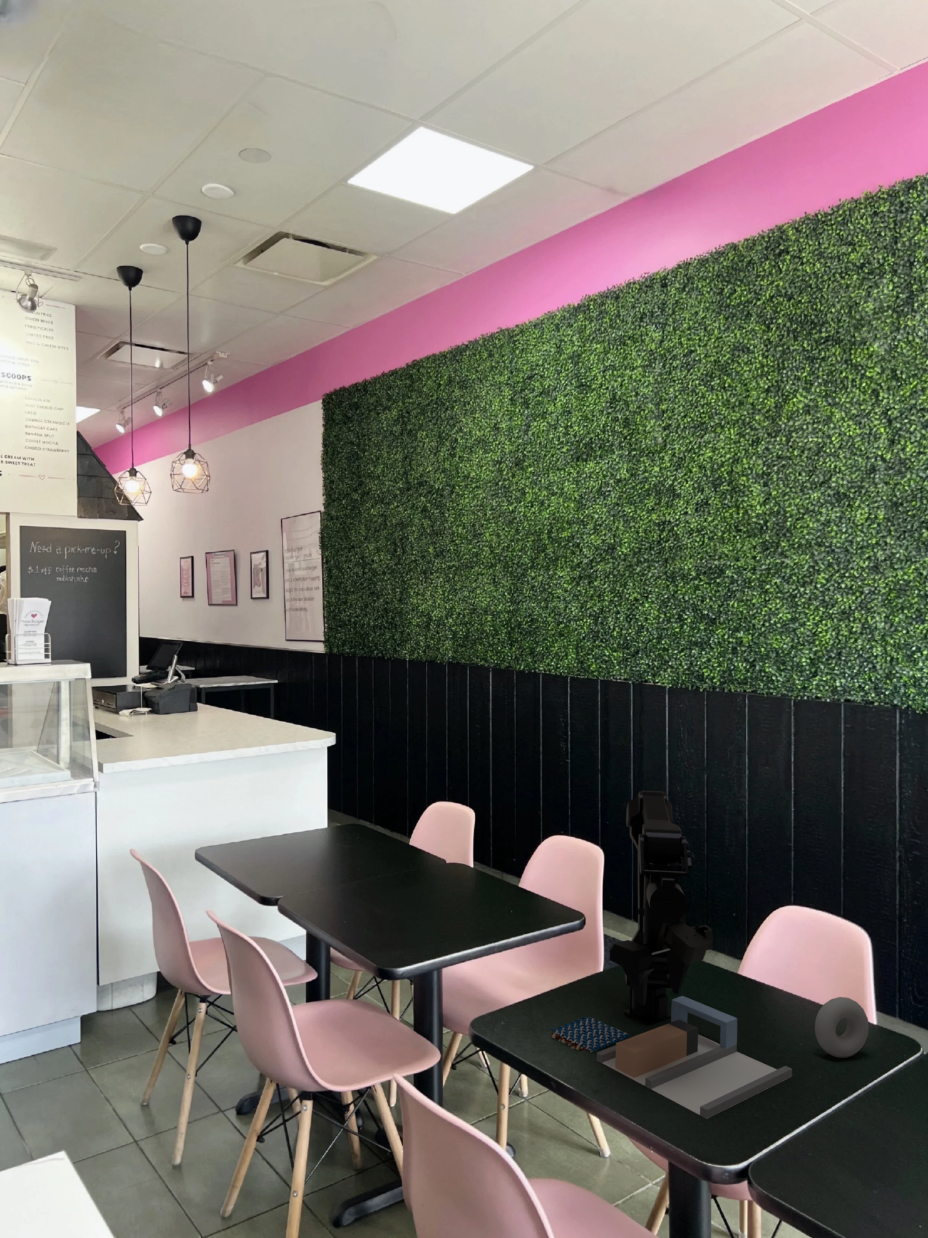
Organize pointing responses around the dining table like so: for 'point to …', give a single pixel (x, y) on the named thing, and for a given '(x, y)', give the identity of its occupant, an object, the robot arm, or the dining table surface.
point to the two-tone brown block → (656, 1048)
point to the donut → (854, 1032)
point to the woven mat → (588, 1034)
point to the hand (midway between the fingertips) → (659, 999)
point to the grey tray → (707, 1067)
